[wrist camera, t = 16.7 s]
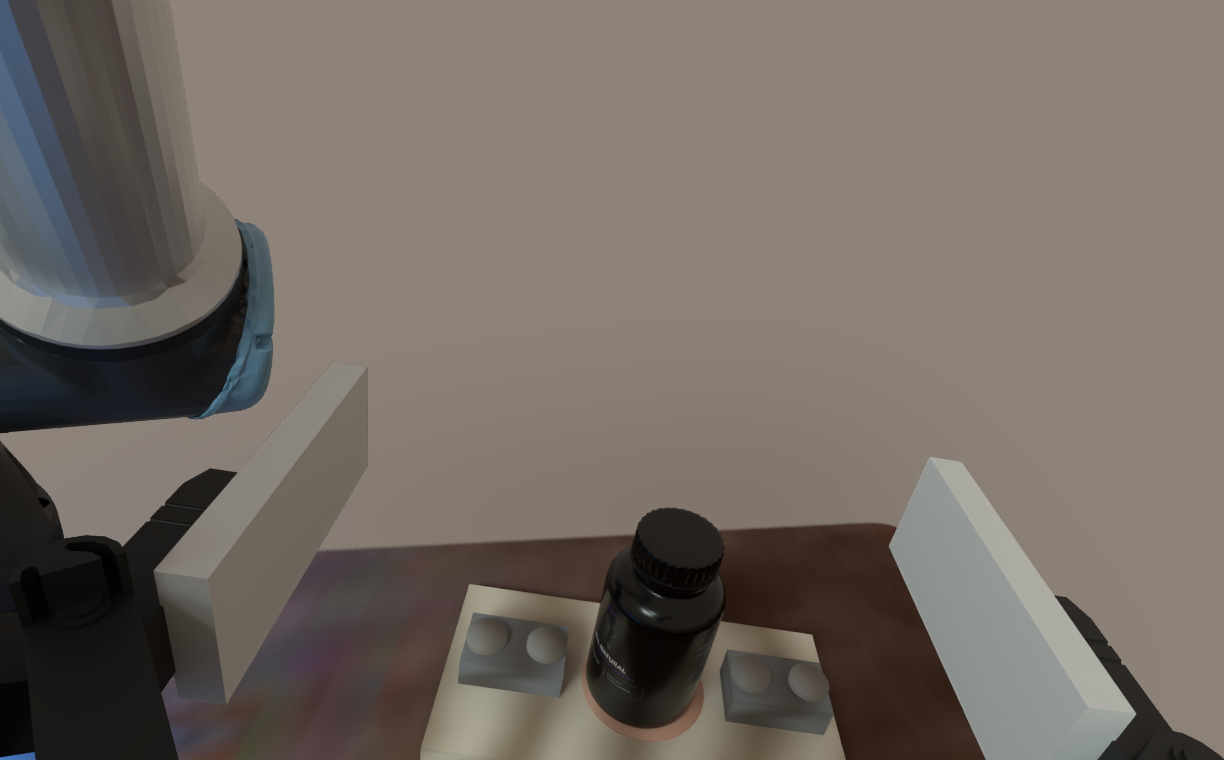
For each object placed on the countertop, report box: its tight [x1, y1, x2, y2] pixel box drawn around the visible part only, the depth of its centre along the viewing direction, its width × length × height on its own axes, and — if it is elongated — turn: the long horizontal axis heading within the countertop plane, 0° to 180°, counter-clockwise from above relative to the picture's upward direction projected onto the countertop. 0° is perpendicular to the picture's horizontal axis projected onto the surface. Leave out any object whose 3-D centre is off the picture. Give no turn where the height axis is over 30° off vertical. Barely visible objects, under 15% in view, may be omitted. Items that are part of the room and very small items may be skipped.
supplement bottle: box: [586, 508, 726, 729], centre depth 40 cm, size 7×7×12 cm
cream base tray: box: [420, 584, 846, 760], centre depth 43 cm, size 24×12×3 cm, turn 88°
